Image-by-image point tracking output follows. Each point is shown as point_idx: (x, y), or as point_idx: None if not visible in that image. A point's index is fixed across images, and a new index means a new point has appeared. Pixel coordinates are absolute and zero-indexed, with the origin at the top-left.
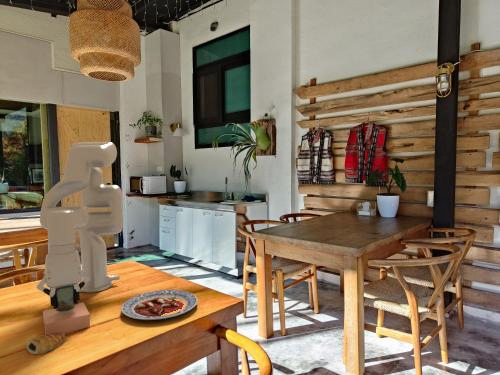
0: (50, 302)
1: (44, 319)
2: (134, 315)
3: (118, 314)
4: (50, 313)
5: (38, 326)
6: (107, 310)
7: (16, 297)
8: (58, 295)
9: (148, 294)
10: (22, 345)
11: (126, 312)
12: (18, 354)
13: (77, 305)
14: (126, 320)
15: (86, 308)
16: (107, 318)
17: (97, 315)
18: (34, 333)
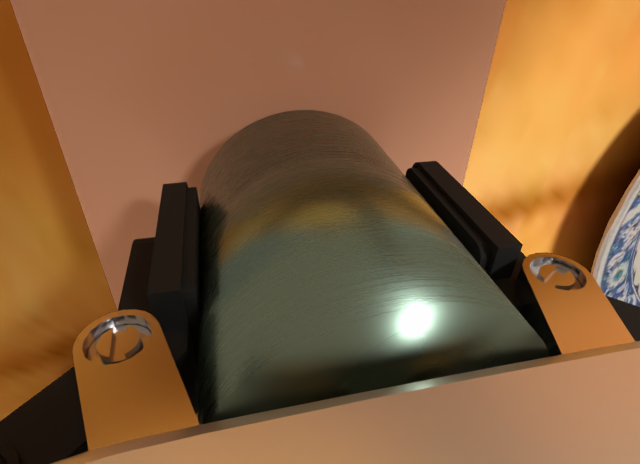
0: (131, 259)
1: (101, 258)
2: (611, 296)
3: (599, 145)
4: (135, 133)
5: (17, 25)
6: (605, 9)
7: None
8: None
9: None
10: (5, 317)
11: (617, 244)
12: (25, 394)
13: (427, 41)
14: (570, 250)
15: (462, 183)
16: (522, 173)
17: (505, 77)
18: (30, 174)
